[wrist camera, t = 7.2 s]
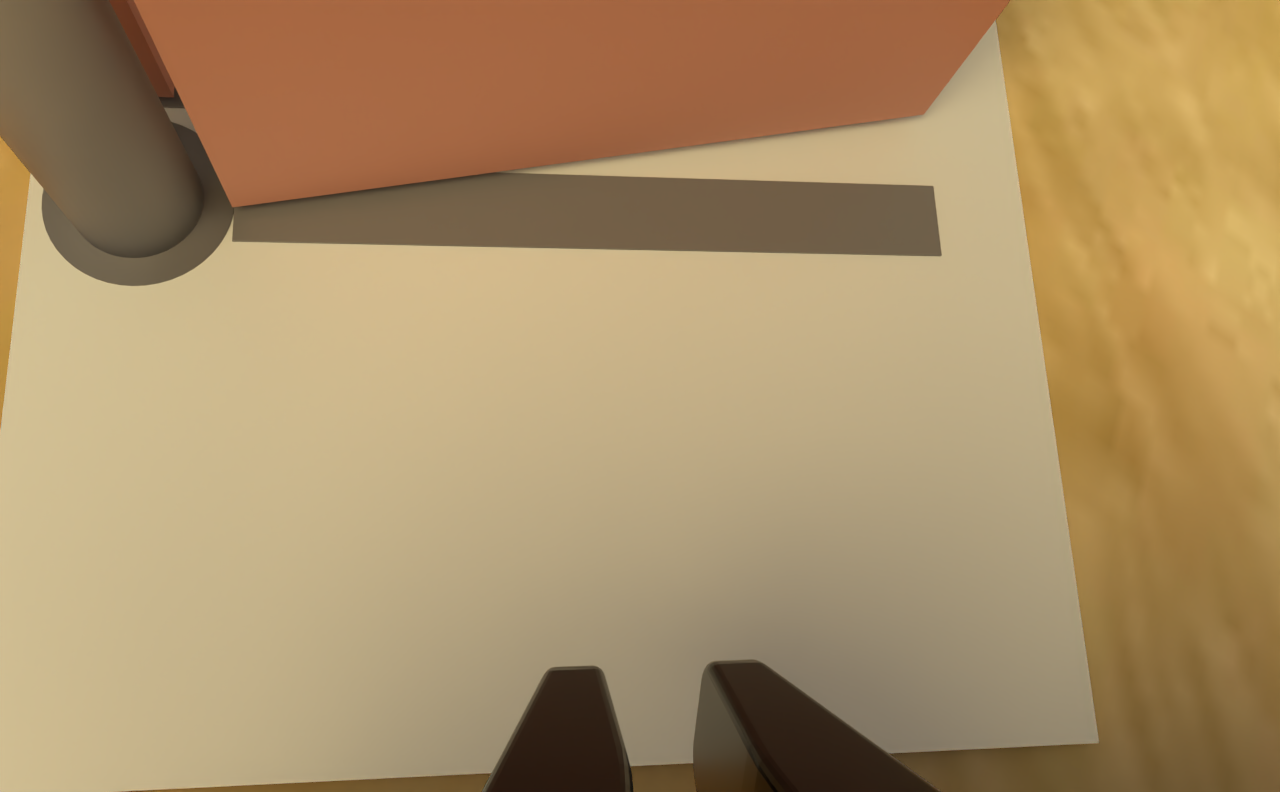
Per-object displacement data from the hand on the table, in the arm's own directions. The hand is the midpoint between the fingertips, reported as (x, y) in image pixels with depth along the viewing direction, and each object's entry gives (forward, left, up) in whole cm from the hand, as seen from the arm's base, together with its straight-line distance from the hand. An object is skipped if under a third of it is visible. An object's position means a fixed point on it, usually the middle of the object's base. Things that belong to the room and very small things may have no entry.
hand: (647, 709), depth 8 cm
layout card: (+7, -3, -7) cm, 10 cm away
